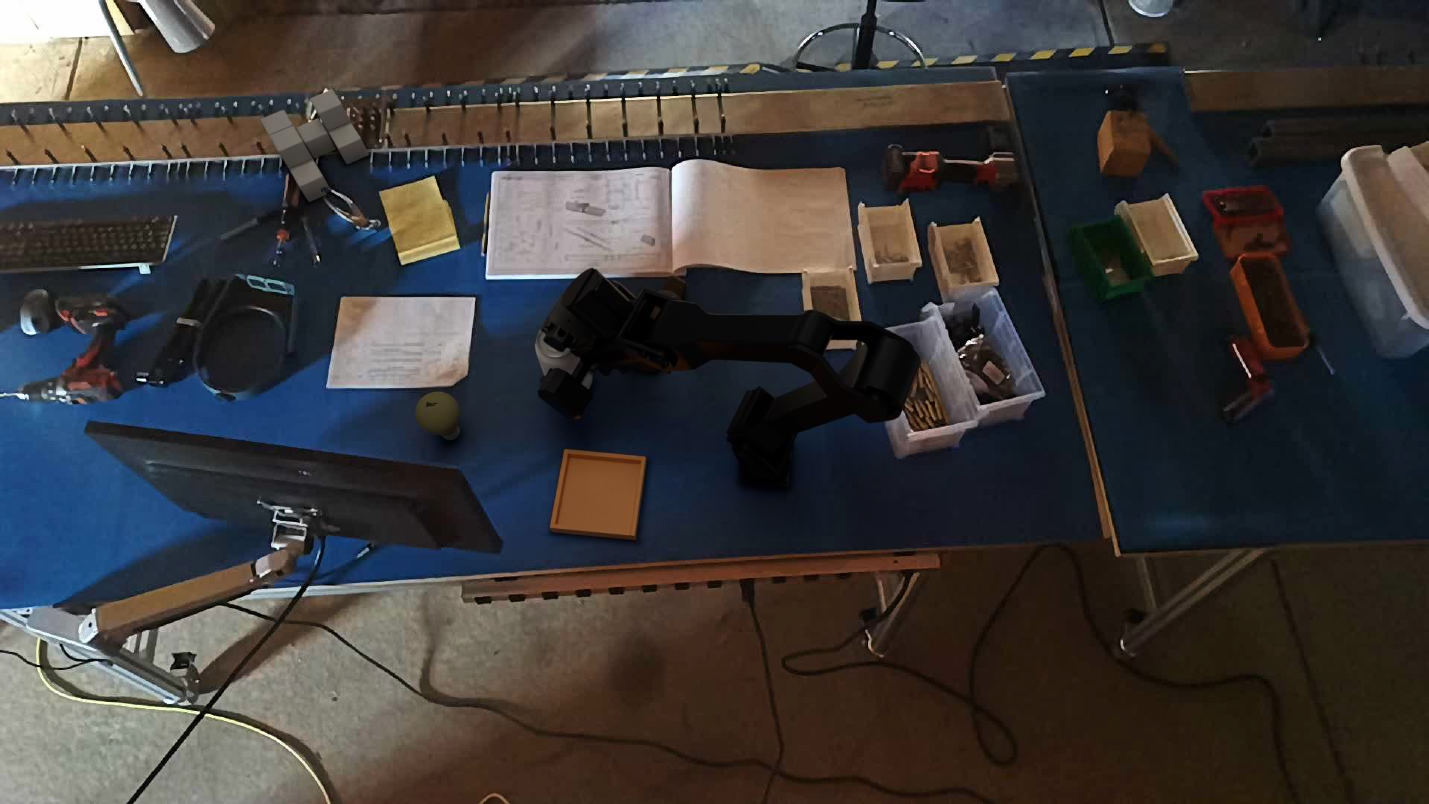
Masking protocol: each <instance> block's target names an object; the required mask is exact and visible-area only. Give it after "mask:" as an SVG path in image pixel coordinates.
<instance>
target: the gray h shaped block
mask: <svg viewBox="0 0 1429 804" xmlns="http://www.w3.org/2000/svg"><path fill="white" fill-rule="evenodd" d="M309 101H310V103H311V105H312V107H313V108H314V110H315V112H316V114H317V116H318V118H315V119H313V120H310V121H307V122H305V123H304V124H301V125H298V126H297V127H296V128H295V126H294V124H293V122H292V121H291V119H290V117H289V115H288V114H287V112H286V110H285V109H282V110H279V111H277V112H274V113H271V114H270V115H269V114H268V115H267V116H264V117H262V118H261V119H260V122H261V124H262V125H263V128H264V129H265V131H266V133H267V134H268V136H269V138H270V140H271V141H272V144H273V145H274V147H275V149H276V151H277V152H278V154H279V155H280V158H281V159H282V161H283V162H284V164H285V165H286V167H287V168H288V170H289V171H290V173H291V175H292V177H293V178H294V180H295V182H296V184H297V186H298V187H299V189H300V190H301V192H302V194H303V196H304V197H305V199H306V200H307V201H308V203H311V202H313V201H315V200H318V199H320V198H322V197H324V196H327V195H328V194H327V193H325V192H324V191H323V192H321V188H323V187H329V189H330V190H331V191H332V189H331V187H330V185H329V184H328V182H327V181H326V178H325V177H324V175H323V174H322V171H321V170H320V168H319V167H318V165H317V163H316V161H315V159H317V158H319V157H322V156H324V155H326V154H329V153H332V152H333V151H336V150H338V152H339V154H340V156H341V157H342V159H343V161H344V162H345V164H346V165H350V164H352V163H354V162H357V161H359V160H361V159H363V158H365V157H367V156H369V152H368V150H367V148H366V146H365V144H364V142H363V139H362V138H361V136H360V134H359V133H358V131H357V130H356V128H355V126H354V125H353V124H352V122H351V120H350V117H349V116H348V113H347V112H346V110H345V107H344V106H343V104H342V102H341V100H340V99H339V97H338V95H337V94H336V93H335V91H334V90H333V89H329V90H327V91H325V92H321V93H320V94H317V95H314V96H313V97H310V98H309ZM320 192H321V193H320Z"/></svg>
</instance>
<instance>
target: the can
mask: <svg viewBox="0 0 1429 804" xmlns="http://www.w3.org/2000/svg"><path fill="white" fill-rule="evenodd" d="M544 337H545V333H543V332H542V331H541V328H540V329H539V331H538V332H537V334H536V337H535V345H534V346H535V347H534V348H535V349H534V350H535V353H536V356H537V359H538V362H539V365H540V367H541V370H542V373H543V377H544V376H546V374H547V372H548V371H549V369H550V368H552V369H554V368H560V369H562V370H564V371H567V372H568V373H569V374H572V373H573V371H574V369H575V368H576V366H577V364H578V363H579V361H580V357H576V356H575V355H573V354H572V353H571V352H570V351H569V350H570V349H569V348H566V349H565V351H564V352H559V351H557V350H555V349H554V348H552V347H551V346H549V345H547V344H546V343H545V342H544V341H543V338H544ZM592 384H593V377H592V378H591V380H590V382H589V383H588V385H587V387H586V388H588V389H589V390H590V388H591V386H592Z"/></svg>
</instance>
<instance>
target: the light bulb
mask: <svg viewBox="0 0 1429 804" xmlns="http://www.w3.org/2000/svg"><path fill="white" fill-rule="evenodd" d="M414 414H415V419H416V422H417V423H418V425H419V427H420V428H421V429H423V430H424V431H425V432H428V433H430V434H432V435H439V436H441V437H442V438H443V439H445V440H446V441H453V440H455V439H457V438H458V436H459V435H460V432H461V430H460V427H459V426H458V423H459V421H460V417H461V409H460V407H459V404H458V402H457V400H456V399H455V398H454V397H453V396H452V395H451V394H449V393H446V392H444V391H433V392H428V393H427V394H425V395H424V396H423V397H421V398H420V399H419V400H418V402H417V404H416V407H415V412H414Z"/></svg>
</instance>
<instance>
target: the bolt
mask: <svg viewBox="0 0 1429 804" xmlns="http://www.w3.org/2000/svg"><path fill="white" fill-rule="evenodd" d="M687 287H688V286H687V282H686V280H684V279H683V278H681V277H679V276H677V275H668V277H667V278H666V281H665V283H664V285H663V287H662V290H661V289H660V290H658V291H656V292H657V293H660V294H664V295H667V296H670V297H673V298H676V299H679V300H683V296H684V294H685V292H686V290H687ZM660 309H661V308H659V307H657V306H655V308H654V310H653V312H652V313H651V315H650V317H652V318H654V319H655V318H656V316H657V314H658V312H659V311H660ZM633 367H635V368H636V369H638V370H640V371H642V372H656V371H657V370H658V369H656V368H654V367H652V366H649V365H647V364H646V365H638V366H633Z"/></svg>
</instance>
